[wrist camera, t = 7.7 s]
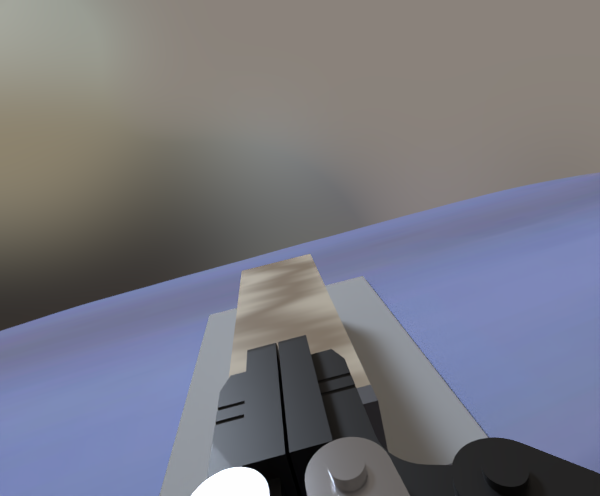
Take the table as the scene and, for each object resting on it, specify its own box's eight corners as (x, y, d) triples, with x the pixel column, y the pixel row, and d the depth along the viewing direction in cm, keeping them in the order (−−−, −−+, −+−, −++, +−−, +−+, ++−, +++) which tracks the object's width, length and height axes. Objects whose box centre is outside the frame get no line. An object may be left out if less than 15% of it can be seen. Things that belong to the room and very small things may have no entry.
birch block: (220, 442, 12) (241, 271, 27) (261, 556, 13) (259, 332, 28) (378, 400, 12) (310, 254, 27) (401, 517, 13) (324, 315, 29)
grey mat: (147, 553, 14) (144, 548, 14) (210, 318, 34) (209, 315, 33) (498, 456, 15) (498, 450, 15) (363, 279, 34) (362, 276, 34)
